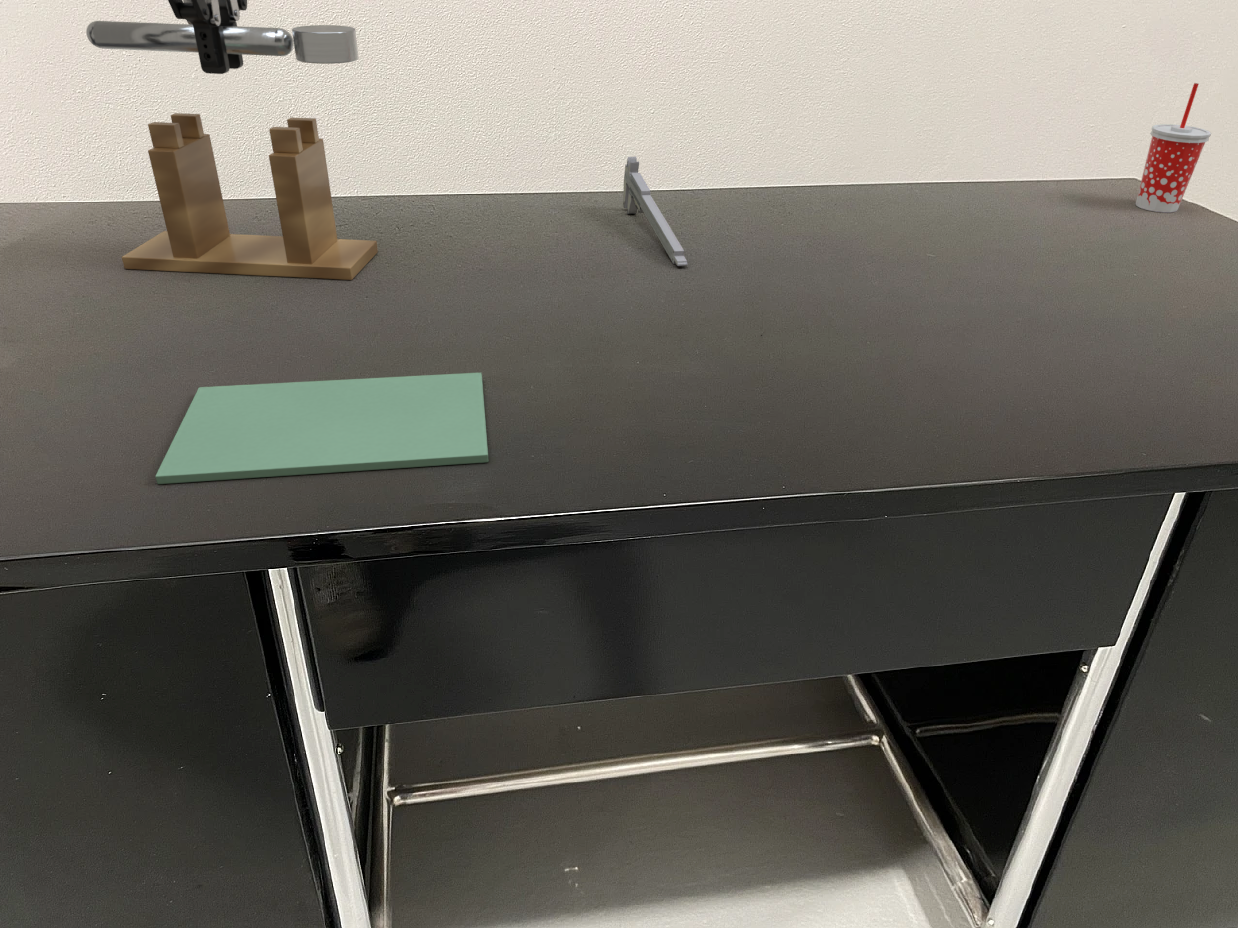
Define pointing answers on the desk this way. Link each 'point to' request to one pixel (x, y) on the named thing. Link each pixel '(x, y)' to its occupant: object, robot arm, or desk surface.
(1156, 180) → the beverage cup
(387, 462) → the mat
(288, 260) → the rack
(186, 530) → the desk surface
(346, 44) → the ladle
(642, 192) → the caliper
